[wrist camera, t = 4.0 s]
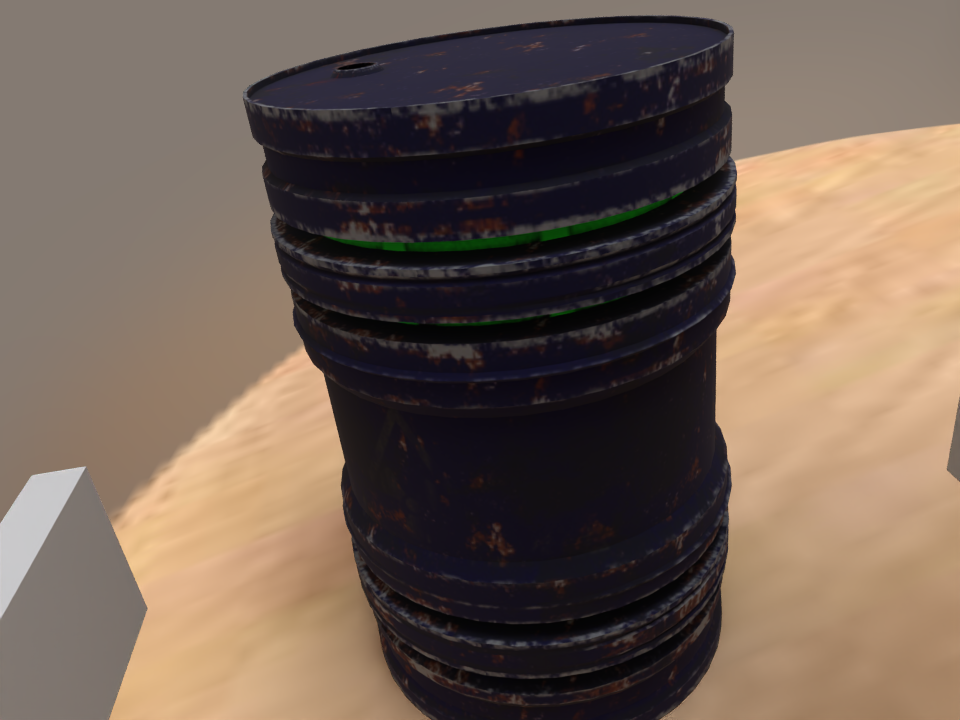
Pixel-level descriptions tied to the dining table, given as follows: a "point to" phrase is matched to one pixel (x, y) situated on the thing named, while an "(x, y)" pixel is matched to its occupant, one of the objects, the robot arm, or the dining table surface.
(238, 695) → the dining table surface
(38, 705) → the robot arm
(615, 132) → the dark blue ribbed cylinder
